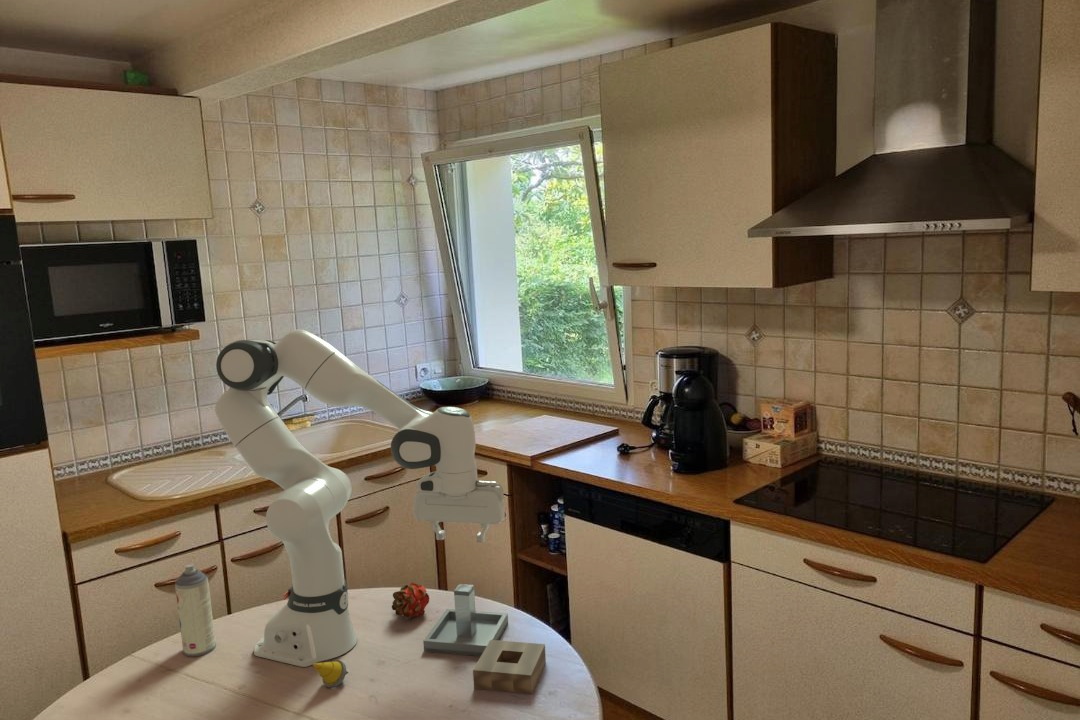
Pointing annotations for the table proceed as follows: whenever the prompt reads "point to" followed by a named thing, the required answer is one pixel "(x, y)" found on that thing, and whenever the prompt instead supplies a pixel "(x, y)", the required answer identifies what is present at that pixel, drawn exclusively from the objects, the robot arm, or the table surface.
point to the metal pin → (465, 610)
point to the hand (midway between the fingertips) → (460, 540)
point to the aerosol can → (195, 612)
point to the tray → (448, 642)
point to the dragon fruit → (410, 600)
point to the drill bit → (331, 672)
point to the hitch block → (509, 666)
